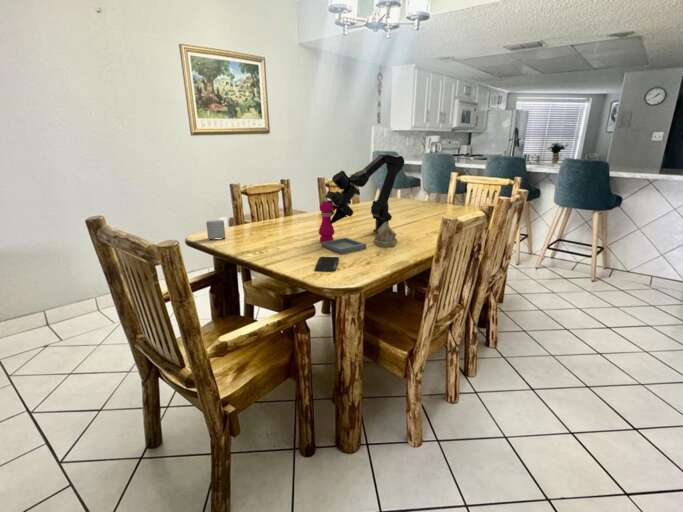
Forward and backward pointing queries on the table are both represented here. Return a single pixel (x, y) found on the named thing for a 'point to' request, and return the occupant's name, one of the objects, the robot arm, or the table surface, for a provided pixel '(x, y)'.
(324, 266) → the phone
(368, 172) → the robot arm
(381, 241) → the ceramic model
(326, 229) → the pepper mill
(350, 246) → the grey tray
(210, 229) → the medicine box
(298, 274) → the table surface
